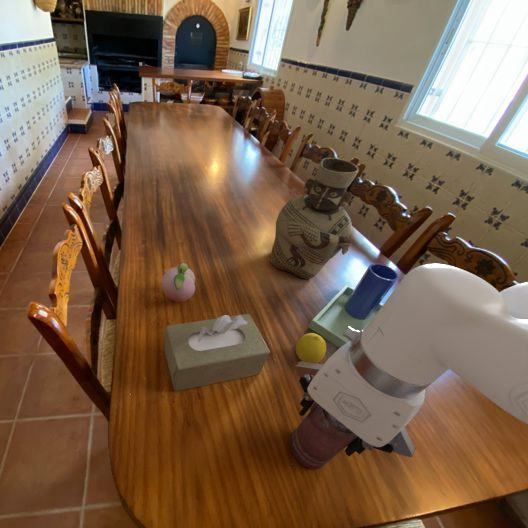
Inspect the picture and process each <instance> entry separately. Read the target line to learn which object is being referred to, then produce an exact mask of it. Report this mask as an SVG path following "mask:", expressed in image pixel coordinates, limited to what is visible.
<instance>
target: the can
mask: <svg viewBox="0 0 528 528" xmlns="http://www.w3.org/2000/svg"><path fill="white" fill-rule="evenodd" d="M309 410H310V411H309V412H308V413H307V415H306V416H305V417H304V418H303V420H302V421H301V422H300V424H299V425H298V426H297V427H296V428H295V429H294V431H293V432H292V434H291V435H290V439H289V447H290V449H291V453H292V455H293V456H294V458H295V459H296V461H298V462H299V463H300V464H301V465H302V466H304V467H306V469H307V468H308V469H312V470H319V469H322V468H323V467H324V466H326V465H327V464H328V463H329V462H330V461H332V459H334V458H335V457H337V456H338V455H339V454H340V453H341V452H342V451H343V450H344V449H346V448H347V446H348V445H349V444H350V443H351V442H353V441H354V440H355V439H356V438H357V437H358V436H357V435H356V434H355V433H353V432H352V431H351V430H350V429H348V428H347V427H346V426H345V425H343V424H342V423H341V422H340V421H338V420H337V419H336V418H335V417H333V416H332V415H331V414H330V413H329V412H327V411H326V410H325V409H324V408H322V407H321V406H320V405H319V404H318V403H317V402H314V403H313V405H312V406H311V407H310V408H309Z"/></svg>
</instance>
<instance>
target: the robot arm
mask: <svg viewBox="0 0 528 528" xmlns="http://www.w3.org/2000/svg"><path fill="white" fill-rule="evenodd" d="M382 304H383V306H382V307H381V308H380V310H379V311H378V312H377V314H376V315H375V316H374V318H373V319H372V320H371V322H370V323H369V324H368V326H367V327H366V328H365V329H364V331H362V330H360V331H358V330H354V329H352V328H350V327H348V329H347V330H346V331H345V333H344V334H343V336H345V337H346V338H348V340H349V342H347V343H346V344H344V345H343V346H342V347H340V348H339V347H338V349H337V350H336V351H335V352H334V353H333V354H332V355H330V357H329V358H328V359H327V360H326V361H325V362H324V363H310V362H303V361H301V360H299V361H298V362H297V363H296V364H295V366H294V370H295V373H296V375H297V377H298V378H299V379H298V382H299V384H300V386H301V388H302V389H301V390H302V391H303V394H302V397H303V398H302V399H301V401H300V402H299V406H301V407H302V409H301V410H300V411H299V413H298V415H300V417H304V416H305V415H306V414H307V413H308V411H309V410H310V409H311V408H312V406H313V404H314V403H315V402H317V403H318V404H319V405H320V406H321V407H322V408H324V409H325V410H326V411H327V412H329V413H330V414H331V415H332V416H333V417H335V418H336V419H337V420H338V421H340V422H341V423H342V424H343V425H345V426H346V427H347V428H348V429H350V430H351V431H352V432H353V433H355V434H356V435H357V436H358V437H357V438H356V439H355V440H354V441H353V442H351V443H350V444H349V445H348V446H347V447H345V450H344V453H345V455H346V456H347V457H351V456H352V455H353V454H355V453H357V454H358V455H361V454H362V453H364V452H365V450H367V451H373V449H375V450H378V451H382V452H384V453H388V454H392V453H395V454H397V455H399V456H404V457H408V458H412V457H414V454H415V452H416V451H415V450H416V446H415V444H414V442H413V440H412V438H411V436H410V434H409V432H408V429H407V428H406V426H407V425H408V424H409V423H410V422H411V421H412V420H413V419H414V417H415V416H416V415H417V413H418V412H419V411H420V409H421V407H423V405H424V402H425V397H426V393H427V392H426V391H427V390H426V389H427V388H428V387H429V386H431V385H432V384H433V383H434V382H436V381H437V379H439V378H440V377H442V375H444V374H445V373H446V372H447V371H448V370H450V371H452V372H453V373H454V374H456V375H457V376H458V377H460V379H462V380H464V381H465V382H466V383H467V384H469V385H470V386H471V387H473V389H475V390H476V391H477V392H479V393H480V394H481V395H483V396H484V397H485V398H487V399H488V400H489V401H491V402H492V403H493V404H495V405H496V406H498V407H499V408H501V409H502V410H503V411H504V412H506V413H508V414H509V415H511V416H513V417H514V418H516V419H518V420H519V421H521V422H522V423H525V424H526V425H528V281H525V282H522V283H518V284H515V285H512V286H510V287H507V288H505V289H502V290H501V291H499V290H498V289H497V288H495V287H494V286H493V285H492V284H490V283H489V282H487V281H486V280H484V279H483V278H481V277H479V276H478V275H476V274H473V273H471V272H469V271H467V270H464V269H462V268H459V267H455V266H453V265H448V264H442V263H425V264H421V265H419V266H416V267H414V268H412V269H410V271H409V272H408V273H406V275H405V276H404V277H403V278H402V280H401V281H399V284H397V286H396V287H395V289H394V290H393V291H392V293H391V294H390V295H389V296H388V298H387V299H386V300H385V302H384V303H382Z"/></svg>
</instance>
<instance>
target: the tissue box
mask: <svg viewBox="0 0 528 528" xmlns="http://www.w3.org/2000/svg"><path fill="white" fill-rule="evenodd" d="M163 351H164V354H165V359H166V363H167V367H168V372H169V375H170V379H171V384H172V388H173V391H174V392H180V391H184V390H189V389H194V388H199V387H204V386H209V385H215V384H219V383H224V382H229V381H233V380H238V379H239V380H240V379H244V378H248V377H253V376H258V375H261V373H262V371H263V368H264V367H265V364H266V362H267V360H268V358H269V355H270V353H271V350H270V349H269V347H268V344H267V343H266V341H265V340H264V338H263V336H262V334H261V332H260V329H258V327H257V325H256V322H255V321H254V319H253V317H252V315H251V314H250V313H243V314H237V315H231V316H230V315H228V314H223V315H221V316H219V317H217V318H210V319H203V320H198V321H197V320H196V321H191V322H183V323H178V324H177V323H176V324H171V325H166V326H165V333H164V346H163Z"/></svg>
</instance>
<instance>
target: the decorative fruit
mask: <svg viewBox="0 0 528 528" xmlns="http://www.w3.org/2000/svg"><path fill="white" fill-rule="evenodd" d="M195 283H196V276H195V274H194V272H193V270H192V269H190V268H189V265H188V264H187V263H186V262H183V263H180V264H178V266H174V267H171V268H169V269H167V270H166V271H165V272H164V274H163V276H162V279H161V289H162V291H163V293H164V295H165V296H166V297H167V298H168V299H169V300H171V301H173V302H174V303H175V302H176V303H183V302H186V301H188V300H190V299H191V298H192V297H193V295H194V294H195V291H196V284H195Z"/></svg>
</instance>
